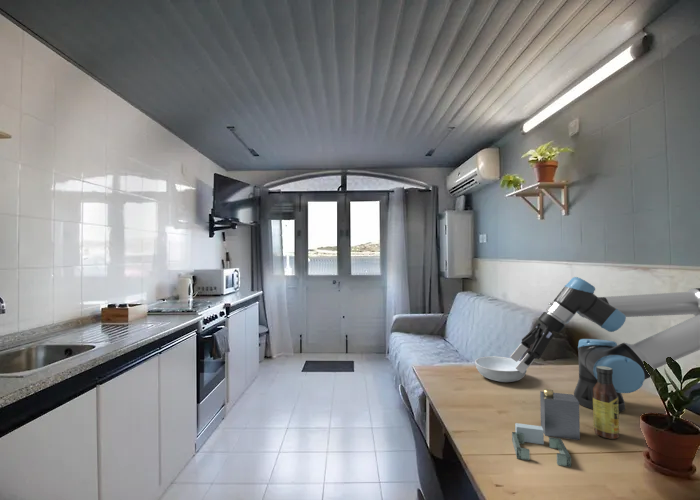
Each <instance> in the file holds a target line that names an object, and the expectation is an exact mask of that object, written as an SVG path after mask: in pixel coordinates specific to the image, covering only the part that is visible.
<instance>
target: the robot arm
mask: <svg viewBox="0 0 700 500" xmlns="http://www.w3.org/2000/svg"><path fill="white" fill-rule="evenodd" d="M595 291H596V287H595V285H592V284H591V283H589V282H588V281H586V280H584V279H583V278H581V277H577V276H574V277H572V278H571V279H570V280H569V281H568V282H567V283H566V284H565V285H564V286H563V288H562V289H561V291H560V292H559V293H558V295H557V296H556V297H555V298H554V300H553V301H552V302H549V303H548V307H546V311H544V312H542V313H541V315H540V316H539V317H538V321H539V322H540V323H537V324H536V325H535V327H533V328H532V330H531V331H529V332H527V334H526V335H525V336H523V337H522V338H521V343H520V344H519V345H518V346H517V347H516V349H514V352H513V353H512V354H510V356H509V358H511V359H513V360H515V361H516V362H517V361H518V360H519V361H521V362H520V363H519V364H518V365H517V366H516V369H517V370H518V371H520V372H521V373H522V374H523V373H524V372H525V371H526V370H528V369H529V367H530V366H531V365H532V364H533V363H534V361H535V360H539V359H540V358H541V356H542V355H543V353H544V352H545V350H546V348H547V346H548V345H549V343H550V341H551V340H552V339H553V338H554V336H555V334H554V333H552V332H555V333H556V334H559V333H561V332H562V331H563V329H564V328H565V324H569V322H570V321H571V320H572V319H573V317H574V316H575V315H576V313H577V315H579V316H580V317H581V318H585V319H587V320H588V321H591V322H593V323H594V324H597V325H598V326H599V327H601V329H604V330H605V331H607V332H609V333H614V332H616V331H618V330H619V329H621V328H622V327H623V325H624V324H625V323H626V319H627V318H636V317H637V318H638V317H657V316H658V317H659V316H660V317H661V316H684V315H693V316H692V317H690V318H688V319H686V320H684V321H681V322H679V323H677V324H675V325H672V326H670V327H669V328H666V329H664V330H662V331H659V332H657V333H655V334H652V335H651V336H648V337H646V338H644V339H641V340H640V341H637V342H635V343H632V344H631V343H627V342H622V343H620V344H618V343H617V342H616V341H615V340H614V341H613V340H608V339H607V340H606V339H596V338H580V339H579V340H578V346H577V351H578V381H577V384H576V385H575V389H574V391H573V395H574V396H575V398H576V399H577V400H578V401H579V406H583V407H584V408H588V409H591V410H593V387H594V386H595V385H596V383H597V382H598V381H597V372H596V367H597V366H606V367H610V368H612V369H613V374H612V381H613V385H614V388H615V390H616V392H617V395H618V407H619V413H621V412H623V411H625V410H626V402H625V400H624V397H623V394H630V393H634V392H637V391H638V390H639V389H641V388H642V386H643V384H644V382H645V380H648V379H650V378H651V377H650V375H649V374H648V372H647V371H646V369H645V367H644V364H643V361H645V362H646V363H647V364H649V365H650V366H651V367H652V368H654V370H656V369H658V368H660V367H663V366H665V365H667V363H666V358H667V357H671V358H672V359H673V360H674V361H673V362H675V361H677V360H680V359H682V358H684V357H686V356H689V355H691V354H693V353H696V352H699V351H700V287H698V288H690V289H689V290H688V291H681V292H664V293H648V294H647V293H646V294H632V295H631V294H630V295H629V294H628V295H615V296H600V297H599V296H597V295H596V294H595ZM531 346H532V347H531ZM530 348H531V349H530ZM529 349H530V350H529ZM527 350H528V351H527ZM525 353H526V354H525ZM524 354H525V355H524ZM522 356H524V357H523V358H522ZM521 358H522V359H521ZM520 359H521V360H520ZM526 372H527V371H526Z"/></svg>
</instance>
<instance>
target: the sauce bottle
mask: <svg viewBox="0 0 700 500" xmlns="http://www.w3.org/2000/svg"><path fill="white" fill-rule="evenodd" d="M596 372H597V381H598V382H597V383H596V385H595V386H594V387H593V409H592V414H593V415H592V417H593V418H592V420H593V430H594V434H596V435H597V436H599V437H601V438H604V439H610V440H616V439H618V438H619V435H620V418H619V417H620V415H619V413H620V412H619V407H618V395H617V392H616V390H615V388H614V385H613V381H612V374H613V369H612V368H610V367H606V366H597V367H596Z"/></svg>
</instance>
